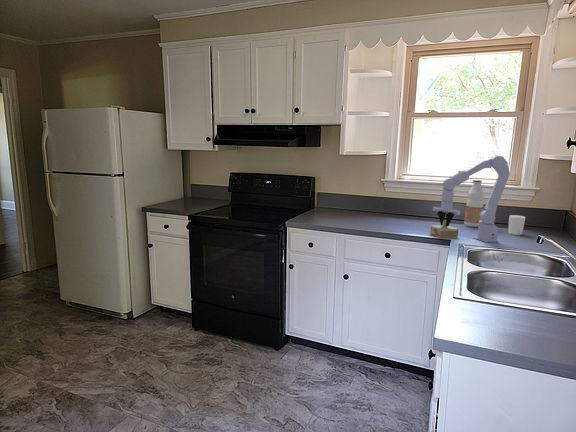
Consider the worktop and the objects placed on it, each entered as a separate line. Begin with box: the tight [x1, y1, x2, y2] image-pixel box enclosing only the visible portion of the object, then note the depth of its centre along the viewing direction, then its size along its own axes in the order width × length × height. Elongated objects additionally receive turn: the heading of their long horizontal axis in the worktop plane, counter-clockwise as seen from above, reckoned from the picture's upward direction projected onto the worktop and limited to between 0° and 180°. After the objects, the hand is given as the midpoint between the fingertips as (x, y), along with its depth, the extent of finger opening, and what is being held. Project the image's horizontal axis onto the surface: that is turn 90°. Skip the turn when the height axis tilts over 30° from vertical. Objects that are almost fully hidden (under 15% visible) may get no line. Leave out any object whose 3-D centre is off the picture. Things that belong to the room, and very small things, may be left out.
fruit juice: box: [463, 179, 485, 228], centre depth 243 cm, size 9×9×28 cm
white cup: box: [508, 214, 526, 236], centre depth 226 cm, size 8×8×10 cm
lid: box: [430, 219, 459, 231], centre depth 216 cm, size 10×10×4 cm
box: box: [430, 226, 459, 239], centre depth 217 cm, size 10×10×4 cm
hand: (444, 225), depth 217 cm, fingers closed on lid, 2 cm apart
